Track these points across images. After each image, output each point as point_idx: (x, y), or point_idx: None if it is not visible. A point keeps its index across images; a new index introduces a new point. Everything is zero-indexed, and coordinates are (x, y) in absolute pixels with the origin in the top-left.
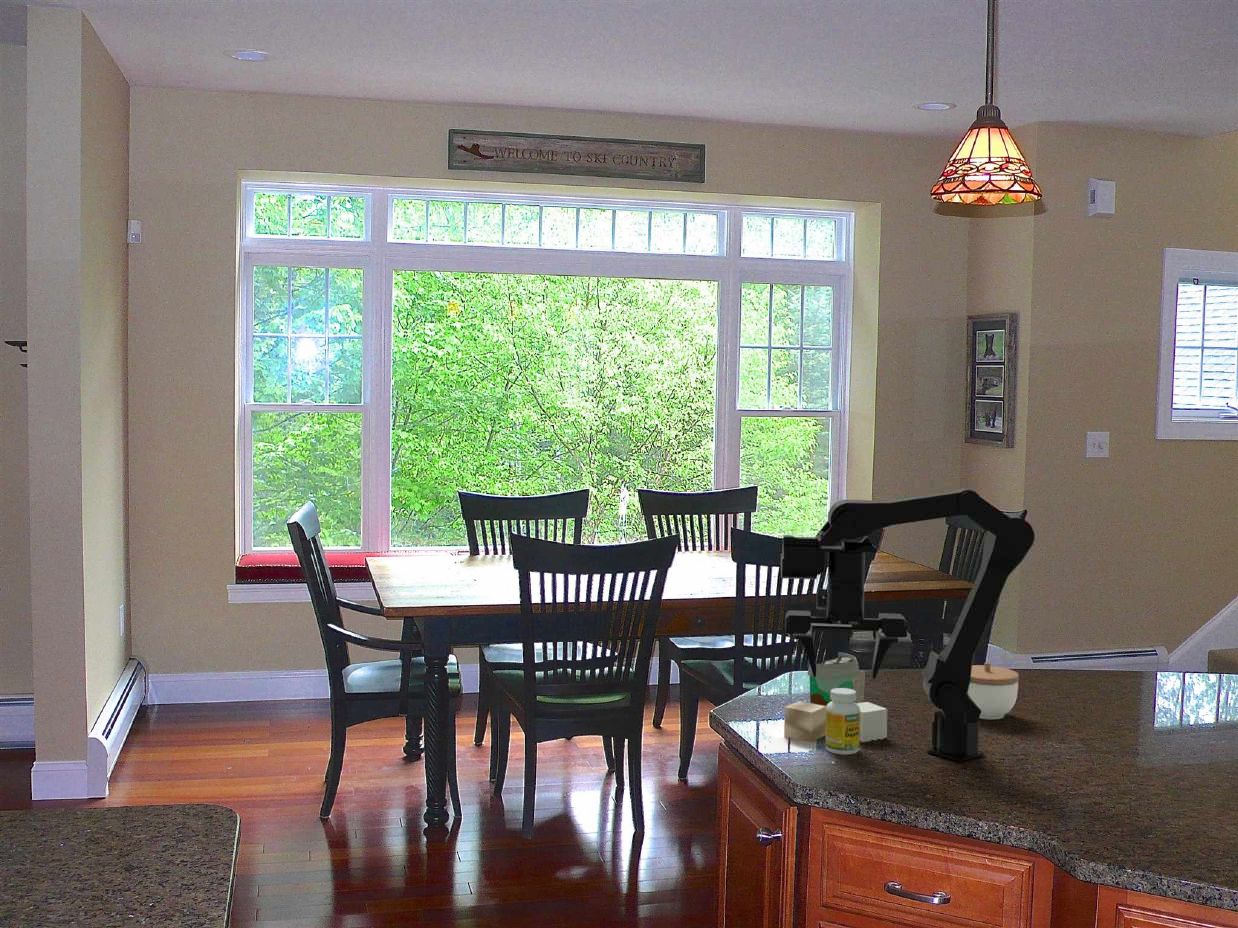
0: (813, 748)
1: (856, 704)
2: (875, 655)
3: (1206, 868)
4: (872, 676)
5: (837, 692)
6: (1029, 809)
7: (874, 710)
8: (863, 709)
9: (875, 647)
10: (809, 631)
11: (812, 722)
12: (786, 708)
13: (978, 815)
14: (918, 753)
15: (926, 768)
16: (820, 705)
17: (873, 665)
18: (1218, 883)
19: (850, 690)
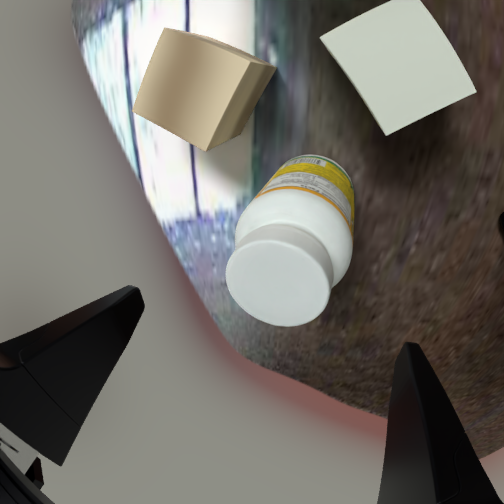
0: (245, 185)
1: (336, 267)
2: (389, 484)
3: (491, 450)
4: (396, 366)
5: (251, 304)
6: (473, 407)
7: (430, 107)
8: (392, 93)
9: (420, 502)
10: (31, 462)
11: (221, 140)
12: (138, 113)
13: None
14: (481, 218)
15: (452, 304)
16: (231, 56)
17: (394, 423)
18: (478, 458)
19: (307, 282)
